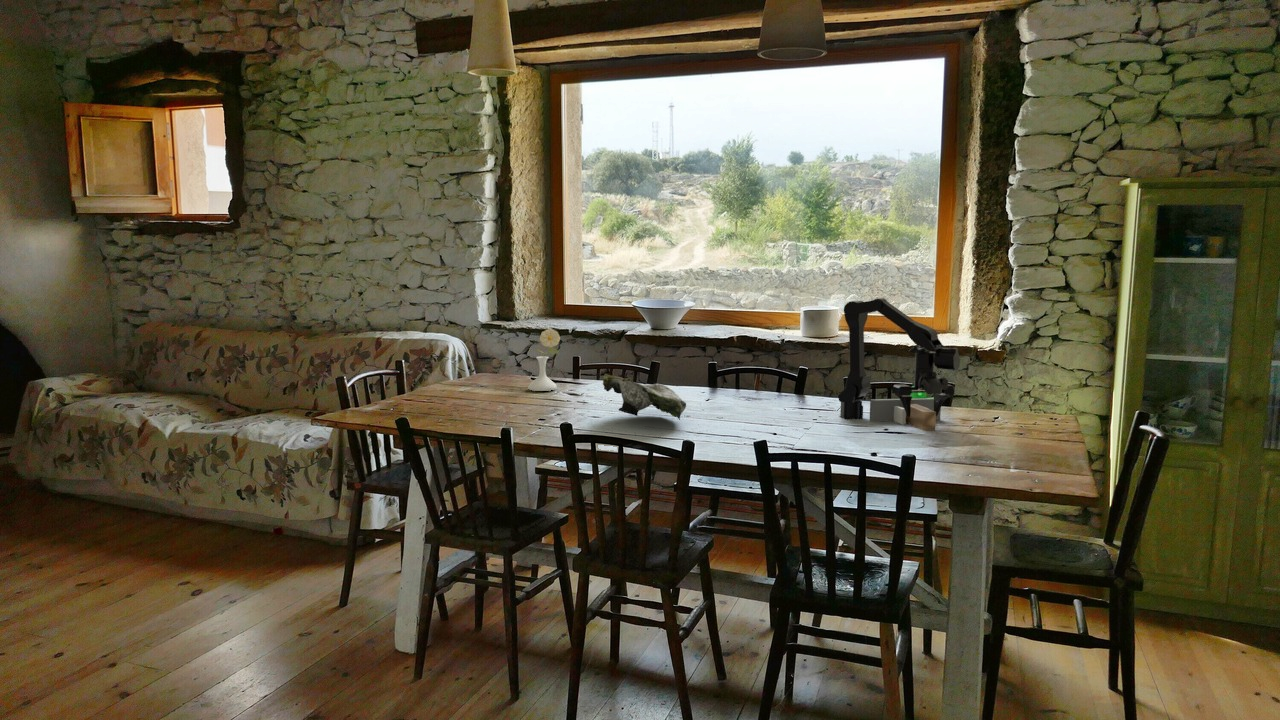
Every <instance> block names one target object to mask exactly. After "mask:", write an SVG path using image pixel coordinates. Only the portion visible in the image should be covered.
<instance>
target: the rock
mask: <svg viewBox="0 0 1280 720" xmlns="http://www.w3.org/2000/svg"><path fill="white" fill-rule="evenodd" d="M602 386H603V387H604V388H603V390H605V391H606V392H609V391H611V390H612V389H613V391H614V392H615V393H616V394H621V397H622V406H621V407H618V408H619V409H618V411H619V412H622V413H625V414H628V415H633V416H636V417H637V416H638V413H639V411H642V410H645V409H646V408H649V407H650V406H653V407H655V409H656V410H659V411H660V412H662V413H667V414H670V415H671V416H672V417H674V418H677V419H678V420H679V421H680V420H681V415H682V414H683V412H684V411H685V410H686V407H687V402H686V401H684V400H683V399H682V398H681V397H680V396H679V395H678V394H677V393H676V392H675V391H674V390H673V389H671V388H670V387H668V386H666V385H664V384H663V383H662V384H661V383H653V384H641V383H639V382H638V383H637V382H635V381H633V379H632V378H631V377H627V378H626V377H624V378H623V377H620V376H617V375H611V374H608V373H604V375H603V381H602Z"/></svg>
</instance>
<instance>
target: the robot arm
mask: <svg viewBox="0 0 1280 720" xmlns="http://www.w3.org/2000/svg"><path fill="white" fill-rule="evenodd" d="M875 312H878V313H879V314H881V316H883V317H885V318H886V319H888V320H889V321H891V322H892V323H893V324H894V325H896V326H897V327H898V328H900V329H901V330H903V331H904V332H905V333H906V334H907V336H908V337H909V339H910V340H911V341H912V342H913V343H914V344H915V345H913V347H911V349H909V350H908V353H910V354H915V360H914V361H915V362H914V369H913V370H912V374H914V381H913V382H912V383H911V385H912V386H914V387H912V386H910V385H907V384H894V385H893V386H892V387H891V388H892V389H891V393H892V394H894V395H895V396H897V397H898V399H900V400H901V402H902V404H903V406H904V409H905V411H906V414H907V416H908V417H910V413H911V399H912V396H911V393H921V392H926V395H933V397H934V411H935V412H936V416H937V415H938V413H939V411H940V408H941V409H942V406H943V404H944V402H945V400H947V399H948V398H951V396H955V395H956V388H955V386H954V385H953V384H952V385H951V384H949V379H947V378H946V377H941V378H937V372H936V371H935V367H936V369H938V370H944V371H945V370H946V371H947V370H948V371H958V370H959V368H960V365H961V358H960V357H961V356H960V354H959V348H957V347H954V348H953V347H952V348H946V347H945V346H944V345H943V344H942V342H941V340H940V339H939V335H938V332H937V330H936V329H934V328H933V327H930V326H928V325H926V324H924V323H921V322H918V321H916V320H914V319H913V318H911V317H910V316H909V315H908V314H905V313H904V312H903V311H902V310H900V309H899V308H897V307H895V306H894V305H893V304H891V303H890V302H889V301H888V300H887V299H885V298H884V297H883V298H882V297H881V298H880V297H879V298H875V299H872V300H867V301H866V300H865V301H864V300H851V301H848V302H846V303H845V305H844V307H843V314H844V321H845V322H846V324H847V326H848V331H849V332H848V333H849V334H848V335H849V336H848V338H849V339H848V340H849V373H848V374H847V377H846V380H845V387H844V389H843V390H842V391H841V392H840V393H839V394H838V395H837V398H838V401H839V402H840V413H839V415H838V417H839V418H841V419H843V420H864V405H863V401H864V398H865V397H866V396H867V395H868V394H869V393H870V388H872V384H871V380H872V375H867V373H866V370H865V333H864V332H865V325H866V323H867V320H868V315H869V314H871V313H875Z"/></svg>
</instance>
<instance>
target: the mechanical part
mask: <svg viewBox="0 0 1280 720" xmlns="http://www.w3.org/2000/svg"><path fill="white" fill-rule="evenodd" d="M911 387H914V386H911ZM910 396H912V399H920V398H927V393H926V392H921V393H911V394H910ZM932 398H934V396H932Z"/></svg>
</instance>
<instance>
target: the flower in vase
mask: <svg viewBox="0 0 1280 720" xmlns="http://www.w3.org/2000/svg"><path fill="white" fill-rule="evenodd" d="M560 340H561V336H560V334H559V332H558V331H557V330H554V329H551V328H549V329H544V331H542V332H541V334H540V336H539V341H540V343H541V345H542V346H544V347H546V348H547V347H548V348H547V350H546V352H544V351H543V350H541V349H538V348H535V349H536V351H538V352H539V353H542V354H544V355H543V356H536V357H535V358H536V360H537V361H538V367H539V372H538V373H539V374H538V376H537V377H536V378H535V379H534V380H533V381H532V382H531V383H530V384H529V385H528V387H527V388H528V390H529V391H531V390H532V392H535V391H549V392H552V391H551V390H553V391H555V390H557V387H558V386H557V384H556V383H555V382H554V381H552V380H551V379H550V378H549V377H548V376H547V373H546V366H547V365H546V364H547V362H548V359H549V358H550V357H549V356H546V355H547V353H548V352H549V353H550V355H555V354H559V353H560V352H559V350H558V349H556V348H555V347H557V346H558V345H559V342H560Z"/></svg>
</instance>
